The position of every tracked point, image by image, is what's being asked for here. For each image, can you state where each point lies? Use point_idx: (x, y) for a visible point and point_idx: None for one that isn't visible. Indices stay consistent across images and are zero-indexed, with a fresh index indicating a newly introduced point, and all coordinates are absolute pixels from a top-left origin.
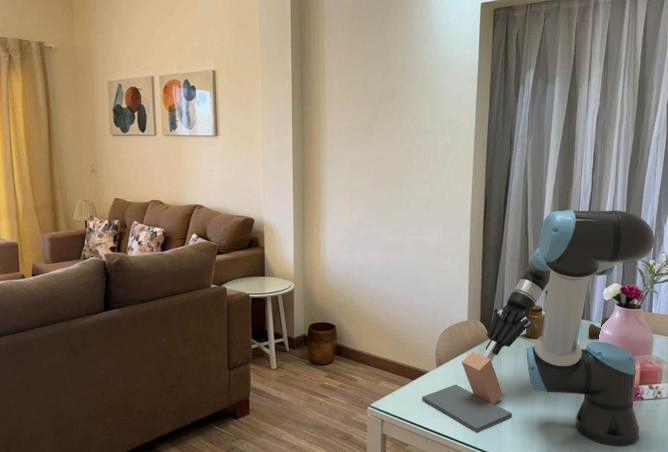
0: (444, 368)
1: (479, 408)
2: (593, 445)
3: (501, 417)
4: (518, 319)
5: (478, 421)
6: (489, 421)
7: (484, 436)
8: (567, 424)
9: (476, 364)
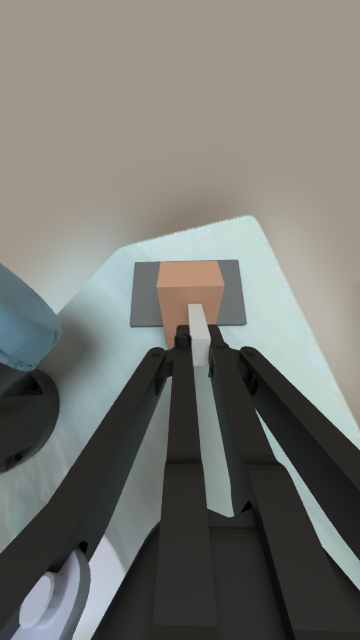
0: (321, 364)
1: None
2: None
3: (131, 305)
4: (106, 615)
5: (144, 274)
6: (135, 285)
7: (125, 267)
8: (66, 377)
9: (179, 267)
